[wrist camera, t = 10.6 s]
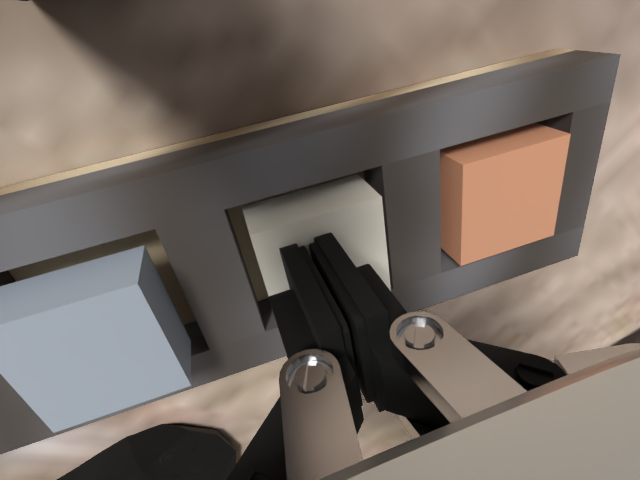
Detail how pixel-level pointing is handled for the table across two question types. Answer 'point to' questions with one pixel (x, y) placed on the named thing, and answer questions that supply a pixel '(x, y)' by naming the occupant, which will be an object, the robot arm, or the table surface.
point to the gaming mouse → (162, 456)
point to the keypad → (293, 175)
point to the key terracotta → (501, 191)
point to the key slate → (92, 339)
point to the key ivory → (319, 226)
